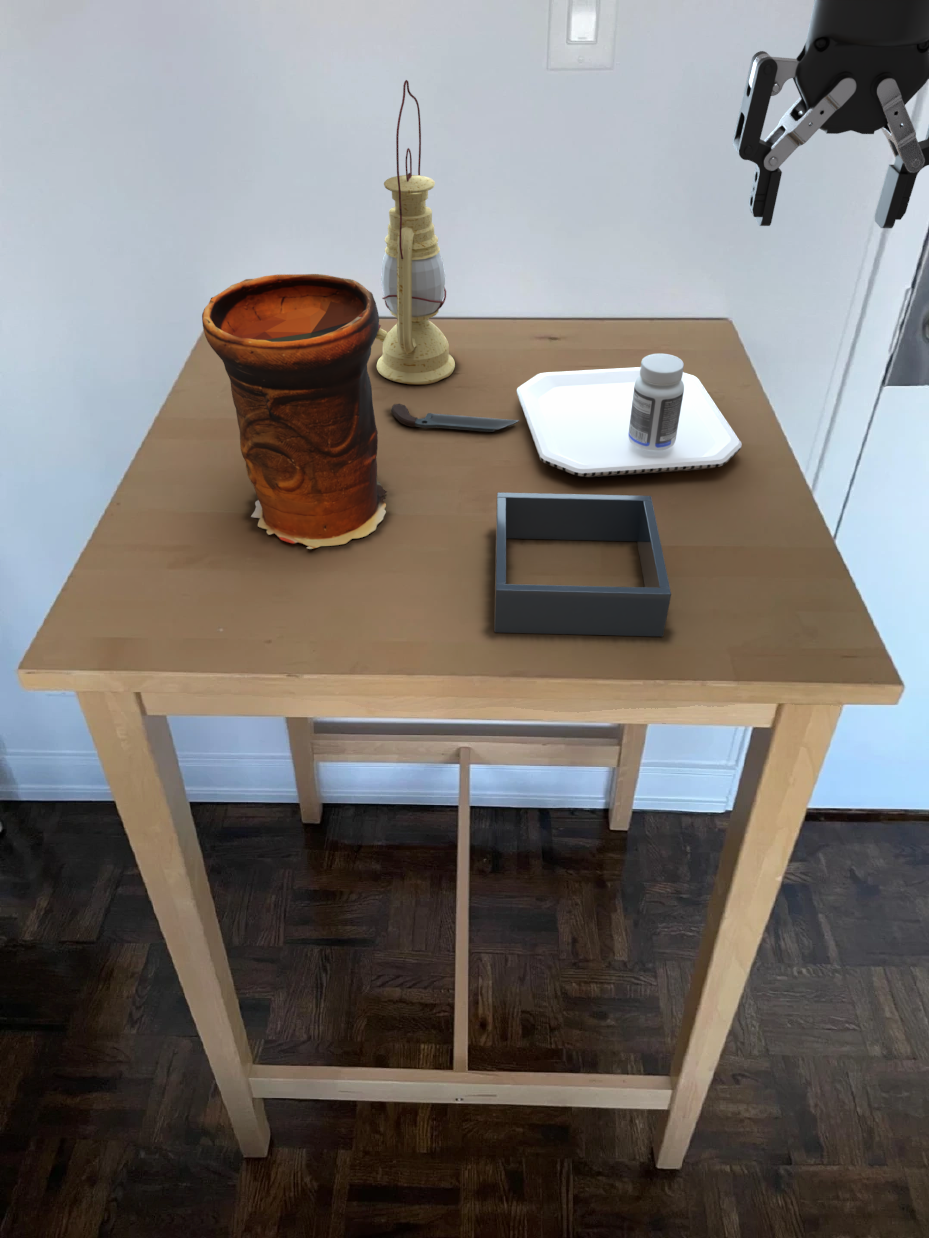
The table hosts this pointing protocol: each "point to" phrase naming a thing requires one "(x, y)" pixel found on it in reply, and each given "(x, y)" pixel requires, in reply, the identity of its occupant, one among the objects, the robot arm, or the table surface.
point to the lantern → (412, 282)
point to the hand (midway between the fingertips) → (822, 224)
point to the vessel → (303, 401)
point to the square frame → (581, 604)
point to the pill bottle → (657, 402)
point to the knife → (450, 421)
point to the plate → (618, 425)
